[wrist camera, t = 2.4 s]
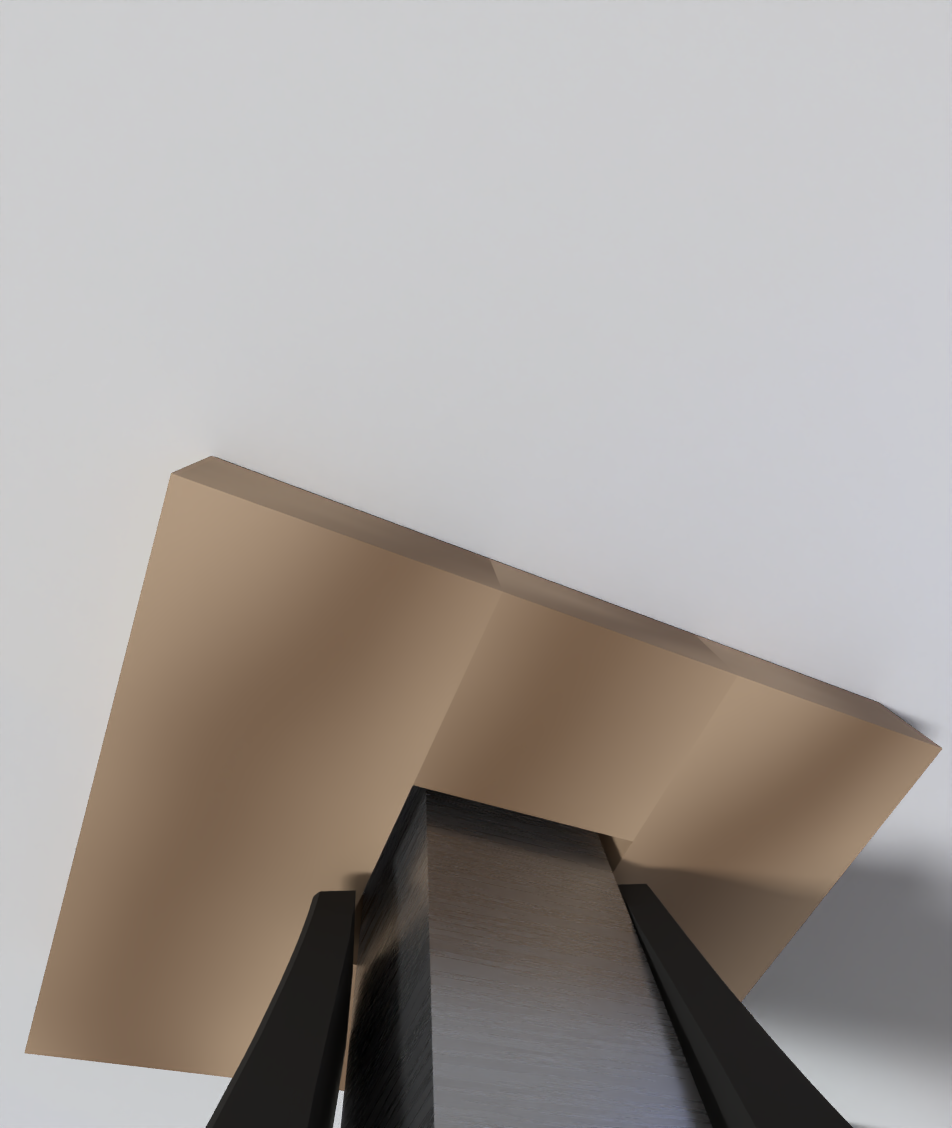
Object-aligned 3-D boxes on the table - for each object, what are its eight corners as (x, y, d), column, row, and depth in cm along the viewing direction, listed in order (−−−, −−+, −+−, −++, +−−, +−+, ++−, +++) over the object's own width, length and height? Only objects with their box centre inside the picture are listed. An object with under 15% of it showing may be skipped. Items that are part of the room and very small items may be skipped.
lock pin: (581, 792, 12) (795, 1337, 5) (513, 910, 13) (618, 1491, 6) (424, 749, 11) (439, 1329, 4) (365, 878, 12) (302, 1511, 5)
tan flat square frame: (878, 702, 12) (942, 748, 10) (621, 1054, 15) (642, 1126, 14) (211, 456, 8) (171, 473, 7) (71, 971, 12) (24, 1052, 10)
